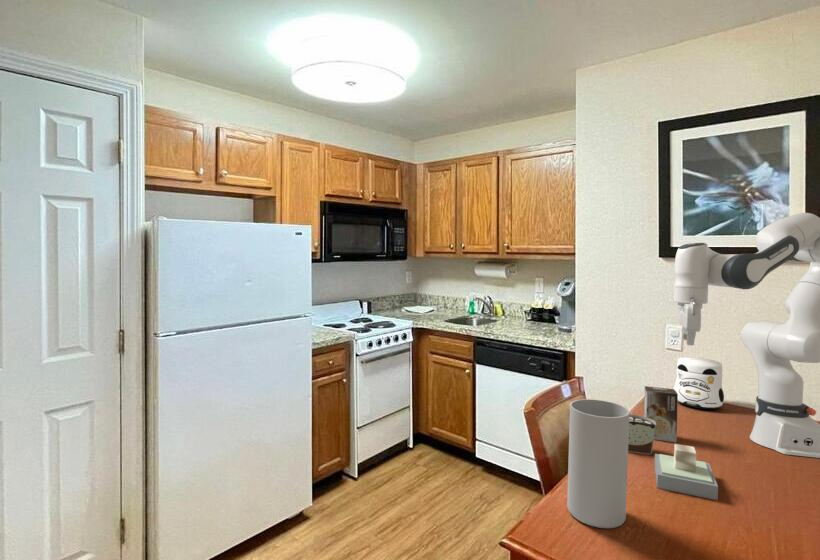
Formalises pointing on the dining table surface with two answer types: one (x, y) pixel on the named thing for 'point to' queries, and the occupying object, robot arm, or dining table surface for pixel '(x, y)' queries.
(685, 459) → the cream block
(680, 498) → the dining table surface
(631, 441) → the food container
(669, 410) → the coffee box
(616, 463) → the cylinder vase
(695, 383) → the milk container
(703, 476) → the base
